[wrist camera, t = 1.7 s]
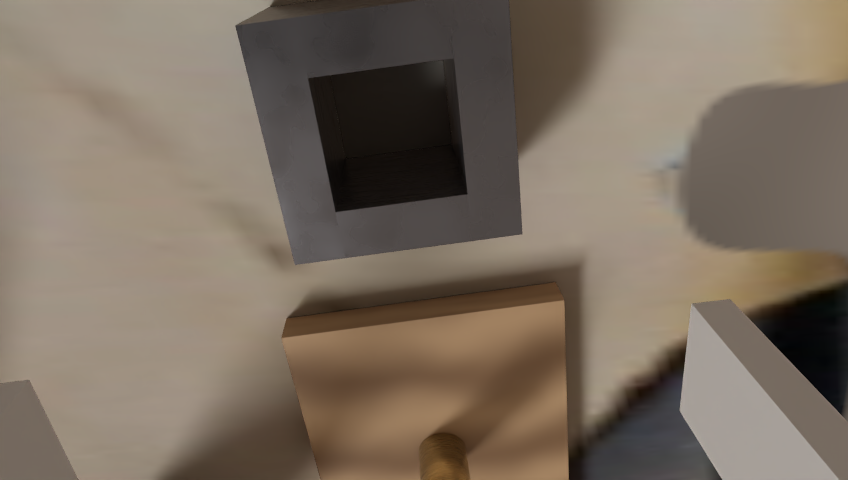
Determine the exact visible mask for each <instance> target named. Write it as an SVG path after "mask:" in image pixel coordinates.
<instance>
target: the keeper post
mask: <svg viewBox="0 0 848 480" xmlns="http://www.w3.org/2000/svg"><path fill="white" fill-rule="evenodd" d="M419 467H420V480H471V479H470V472H469V465H468V459H467V452H466V446H465V443H464V442H463V440H462V439H461V438H460V437H458V436H457V435H455V434H452V433H446V432H442V433H436V434H433V435H430V436H428V437H427V438H425V439H424V440H423V441H422V443H421V444H420V446H419Z"/></svg>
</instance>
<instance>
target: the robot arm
mask: <svg viewBox="0 0 848 480" xmlns="http://www.w3.org/2000/svg"><path fill="white" fill-rule="evenodd" d="M680 412H681V414H682V415H683V417H684V419H685V420H686V422H687V423H688V425H689V427H690V428H691V430H692V431H693V433H694V435H695V436H696V438H697V440H698V441H699V443H700V444H701V446H702V448H703V449H704V451H705V452H706V454H707V456H708V457H709V459H710V460H711V462H712V464H713V465H714V467H715V468H716V470H717V472H718V473H719V475H720V477H721V478H722V480H848V422H847V421H846V420H845V419H844V418H843V417H842V416H841V415H840V413H839V412H838V411H837V410H836V409H835V408H834V407H833V406H832V405H831V404H830V403H829V402H828V401H827V400H826V399H825V398H824V397H823V396H822V395H821V394H820V393H819V392H818V391H817V389H816V388H815V387H814V386H813V385H812V384H811V383H810V382H809V381H808V380H807V379H806V378H805V377H804V376H803V375H802V374H801V373H800V372H799V371H798V370H797V369H796V368H795V366H794V365H793V364H792V363H791V362H790V361H789V360H788V359H787V358H786V357H785V356H784V355H783V354H782V353H781V352H780V351H779V350H778V349H777V348H776V347H775V346H774V345H773V344H772V342H771V341H770V340H769V339H768V338H767V337H766V336H765V335H764V334H763V333H762V332H761V331H760V330H759V329H758V328H757V327H756V326H755V325H754V324H753V323H752V322H751V321H750V319H749V318H748V317H747V316H746V315H745V314H744V313H743V312H742V311H741V310H740V309H739V308H738V307H737V306H736V305H735V304H734V303H733V302H732V301H731V300H730V299H727V300H719V301H710V302H701V303H693V304H691V313H690V322H689V331H688V340H687V349H686V358H685V367H684V376H683V386H682V395H681V404H680ZM0 480H78V478H77V476H76V474H75V472H74V470H73V468H72V466H71V464H70V462H69V460H68V458H67V456H66V454H65V452H64V450H63V448H62V446H61V444H60V442H59V439H58V437H57V435H56V433H55V431H54V429H53V427H52V425H51V423H50V421H49V419H48V417H47V415H46V413H45V411H44V409H43V407H42V405H41V403H40V401H39V399H38V397H37V395H36V393H35V391H34V389H33V387H32V385H31V383H30V380H24V381H15V382H7V383H0Z"/></svg>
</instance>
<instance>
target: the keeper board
mask: <svg viewBox="0 0 848 480" xmlns="http://www.w3.org/2000/svg"><path fill="white" fill-rule="evenodd" d="M281 339H282V342H283V346H284V349H285V353H286V357H287V360H288V364H289V367H290V371H291V375H292V378H293V382H294V385H295V389H296V393H297V396H298V400H299V403H300V407H301V411H302V414H303V418H304V421H305V425H306V429H307V432H308V436H309V439H310V443H311V447H312V450H313V454H314V457H315V461H316V465H317V468H318V472H319V475H320V479H321V480H420V467H419V446H420V444H421V443H422V441H423V440H424V439H425V438H427V437H428V436H430V435H433V434H436V433H442V432H446V433H452V434H455V435H457V436H458V437H460V438H461V439H462V440H463V442H464V443H465V446H466V452H467V459H468V465H469V472H470V479H471V480H569V468H568V428H567V388H566V347H565V307H564V299H563V297H562V294H561V292H560V290H559V288H558V286H557V284H556V282H554V283H547V284H539V285H532V286H524V287H517V288H509V289H502V290H494V291H487V292H479V293H472V294H465V295H457V296H450V297H442V298H435V299H427V300H420V301H412V302H405V303H398V304H390V305H383V306H375V307H368V308H360V309H353V310H345V311H338V312H331V313H323V314H316V315H308V316H301V317H293V318H287V319H286V323H285V327H284V330H283V334H282V338H281Z"/></svg>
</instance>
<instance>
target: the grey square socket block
mask: <svg viewBox="0 0 848 480" xmlns="http://www.w3.org/2000/svg"><path fill="white" fill-rule="evenodd" d="M236 30H237V34H238V38H239V42H240V46H241V50H242V54H243V58H244V62H245V66H246V70H247V74H248V78H249V82H250V86H251V90H252V94H253V98H254V102H255V106H256V110H257V114H258V118H259V122H260V126H261V130H262V134H263V138H264V142H265V146H266V150H267V154H268V158H269V162H270V166H271V170H272V174H273V178H274V182H275V186H276V190H277V194H278V198H279V202H280V206H281V210H282V214H283V218H284V222H285V226H286V230H287V235H288V239H289V243H290V247H291V251H292V255H293V259H294V263H295V265H297V264H305V263H312V262H320V261H327V260H334V259H342V258H349V257H357V256H364V255H371V254H379V253H386V252H394V251H401V250H409V249H416V248H423V247H431V246H438V245H446V244H453V243H460V242H468V241H475V240H483V239H490V238H498V237H505V236H512V235H520V234H522V219H521V202H520V185H519V167H518V150H517V133H516V115H515V98H514V81H513V63H512V46H511V29H510V11H509V0H317V1H310V2H303V3H295V4H288V5H281V6H273V7H268V8H267V9H265V10H263V11H261V12H259V13H257V14H256V15H254V16H252V17H250V18H248V19H247V20H245V21H243V22H241V23H239V24H237V25H236ZM437 60H443V66H444V75H445V85H446V94H447V103H448V113H449V122H450V131H451V141H452V145H445V146H438V147H430V148H423V149H416V150H408V151H401V152H394V153H386V154H379V155H371V156H364V157H357V158H349V159H346V157H345V152H344V146H343V141H342V136H341V131H340V125H339V120H338V115H337V110H336V104H335V99H334V94H333V89H332V83H331V78H330V75H335V74H342V73H349V72H357V71H364V70H371V69H379V68H386V67H393V66H401V65H408V64H415V63H422V62H430V61H437Z"/></svg>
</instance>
